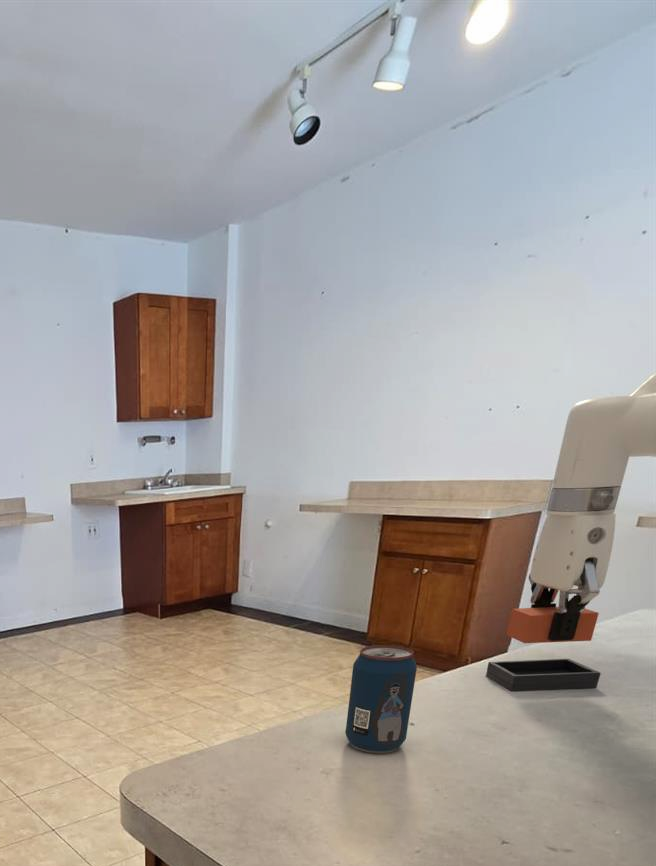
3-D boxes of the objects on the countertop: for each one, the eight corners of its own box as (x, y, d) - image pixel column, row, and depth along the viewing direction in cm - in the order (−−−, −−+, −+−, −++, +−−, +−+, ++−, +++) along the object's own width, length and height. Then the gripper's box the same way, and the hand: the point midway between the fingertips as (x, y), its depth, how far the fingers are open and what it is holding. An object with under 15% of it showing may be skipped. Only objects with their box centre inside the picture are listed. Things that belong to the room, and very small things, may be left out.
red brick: (570, 632, 96) (577, 605, 94) (591, 640, 91) (599, 612, 89) (506, 635, 97) (512, 608, 95) (524, 643, 92) (530, 615, 90)
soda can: (366, 729, 84) (377, 640, 79) (416, 745, 79) (431, 650, 74) (332, 743, 81) (342, 651, 76) (382, 760, 76) (396, 662, 71)
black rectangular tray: (565, 672, 99) (568, 658, 98) (596, 688, 92) (601, 672, 92) (485, 676, 101) (488, 661, 100) (511, 691, 94) (514, 676, 93)
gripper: (658, 503, 78) (615, 649, 86) (573, 497, 93) (542, 621, 101) (592, 507, 79) (555, 651, 86) (518, 501, 94) (492, 623, 102)
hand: (548, 633), depth 94 cm, fingers closed on red brick, 5 cm apart
